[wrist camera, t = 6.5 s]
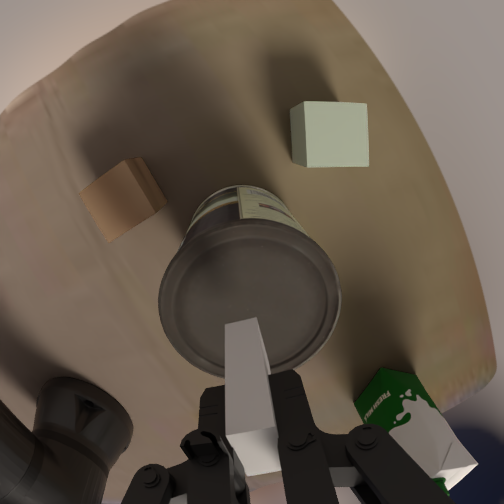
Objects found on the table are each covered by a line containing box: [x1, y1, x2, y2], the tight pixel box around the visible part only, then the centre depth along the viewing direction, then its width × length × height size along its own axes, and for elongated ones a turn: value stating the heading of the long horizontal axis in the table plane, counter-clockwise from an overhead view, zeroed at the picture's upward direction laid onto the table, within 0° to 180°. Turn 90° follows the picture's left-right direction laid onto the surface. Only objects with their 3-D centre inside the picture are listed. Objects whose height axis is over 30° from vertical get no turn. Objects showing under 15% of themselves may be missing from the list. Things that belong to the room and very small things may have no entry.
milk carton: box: [354, 367, 478, 496], centre depth 29 cm, size 9×9×20 cm
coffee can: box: [158, 185, 342, 379], centre depth 24 cm, size 10×10×14 cm
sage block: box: [290, 101, 369, 167], centre depth 25 cm, size 5×5×6 cm
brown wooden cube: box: [79, 157, 168, 243], centre depth 26 cm, size 5×5×5 cm
